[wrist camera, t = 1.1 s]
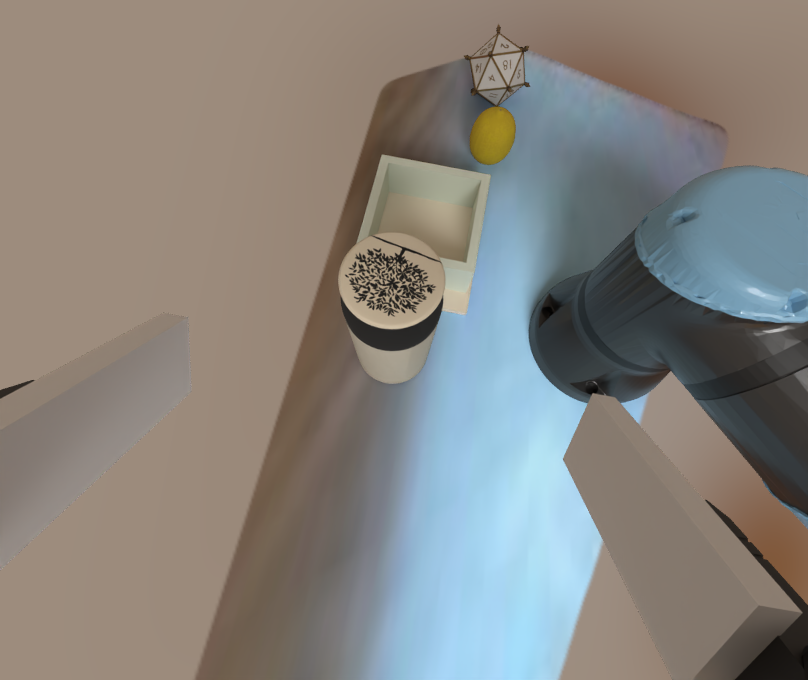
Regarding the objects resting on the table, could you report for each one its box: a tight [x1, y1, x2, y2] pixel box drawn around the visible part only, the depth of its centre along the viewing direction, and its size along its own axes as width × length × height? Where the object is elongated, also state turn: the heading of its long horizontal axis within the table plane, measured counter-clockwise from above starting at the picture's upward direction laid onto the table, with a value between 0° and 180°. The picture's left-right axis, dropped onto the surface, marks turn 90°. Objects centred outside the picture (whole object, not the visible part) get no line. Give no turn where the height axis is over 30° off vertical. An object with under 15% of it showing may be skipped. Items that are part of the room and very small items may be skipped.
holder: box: [357, 155, 491, 315], centre depth 45 cm, size 18×14×6 cm
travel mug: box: [338, 232, 445, 384], centre depth 35 cm, size 8×8×18 cm
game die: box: [464, 25, 530, 107], centre depth 52 cm, size 9×8×10 cm
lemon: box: [470, 107, 516, 165], centre depth 48 cm, size 6×6×8 cm
